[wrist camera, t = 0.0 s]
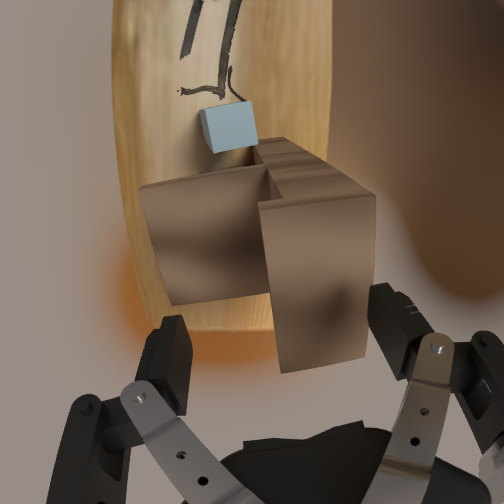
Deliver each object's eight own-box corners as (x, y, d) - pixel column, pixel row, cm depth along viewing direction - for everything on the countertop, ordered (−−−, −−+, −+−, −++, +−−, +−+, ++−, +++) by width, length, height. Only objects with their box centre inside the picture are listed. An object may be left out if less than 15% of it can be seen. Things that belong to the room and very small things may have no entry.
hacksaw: (208, -44, 25) (207, -48, 24) (285, -32, 27) (287, -36, 25) (167, 115, 35) (164, 115, 34) (246, 127, 37) (247, 128, 35)
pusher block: (198, 110, 34) (204, 109, 24) (230, 103, 35) (250, 100, 24) (205, 140, 36) (213, 153, 26) (236, 134, 37) (258, 144, 26)
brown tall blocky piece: (179, 153, 37) (87, 241, 13) (283, 136, 37) (376, 195, 13) (194, 225, 42) (152, 386, 17) (291, 210, 41) (364, 357, 17)
